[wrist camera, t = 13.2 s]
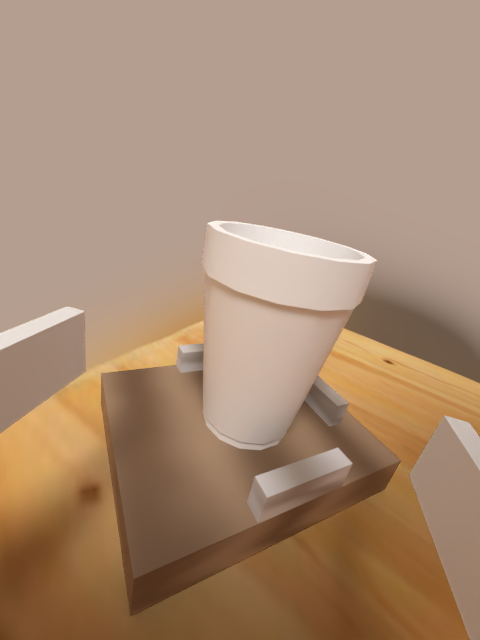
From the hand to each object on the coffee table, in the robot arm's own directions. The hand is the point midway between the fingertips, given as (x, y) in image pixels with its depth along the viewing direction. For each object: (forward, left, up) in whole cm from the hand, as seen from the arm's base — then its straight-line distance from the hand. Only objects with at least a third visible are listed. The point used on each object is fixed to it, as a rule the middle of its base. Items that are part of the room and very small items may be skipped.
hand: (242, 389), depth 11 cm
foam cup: (-6, -6, -9) cm, 12 cm away
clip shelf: (-5, -7, -11) cm, 14 cm away
